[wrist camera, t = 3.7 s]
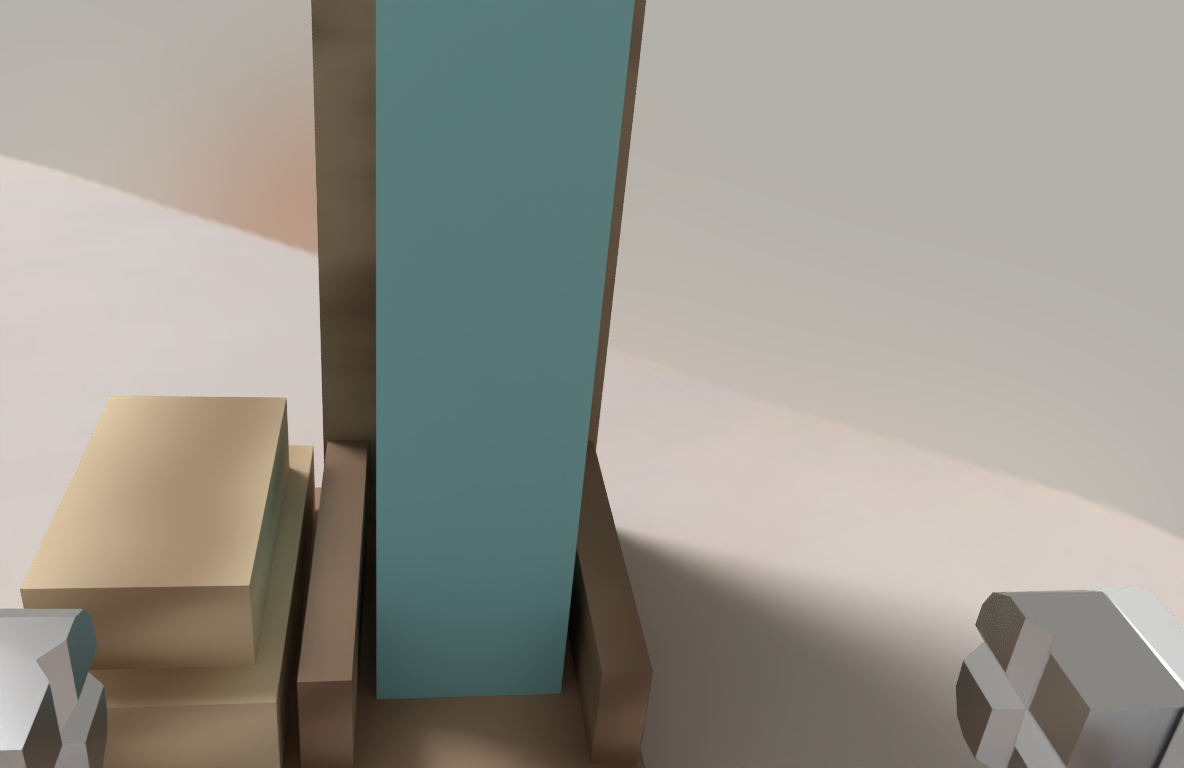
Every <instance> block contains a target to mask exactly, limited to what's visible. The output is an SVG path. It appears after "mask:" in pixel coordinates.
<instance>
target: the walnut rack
mask: <svg viewBox="0 0 1184 768" xmlns="http://www.w3.org/2000/svg"><path fill="white" fill-rule="evenodd" d="M311 5H312V40H313V41H312V42H313V78H314V112H315V149H316V186H317V222H318V258H319V294H320V330H321V366H322V403H323V439H324V472H323V480H322V488H315V516H314V523H313V531H312V539H311V546H310V554H309V562H308V569H307V577H306V585H305V592H304V600H303V608H302V615H301V623H300V631H299V638H298V646H297V654H296V661H295V669H294V677H293V684H292V692H291V700H290V707H289V715H288V723H287V730H286V738H285V745H284V753H283V761H282V768H644V764H643V759H642V755H641V750H640V748H641V741H642V735H643V729H644V722H645V716H646V710H647V703H648V697H649V691H650V685H651V678H652V672H653V671H652V668H651V664H650V660H649V656H648V652H647V648H646V644H645V640H644V636H643V633H642V629H641V625H640V621H639V617H638V613H637V609H636V605H635V602H634V598H633V594H632V590H631V586H630V582H629V578H628V574H627V570H626V567H625V563H624V559H623V555H622V551H621V547H620V543H619V539H618V536H617V532H616V528H615V524H614V520H613V516H612V512H611V508H610V505H609V501H608V497H607V493H606V489H605V485H604V481H603V477H602V473H601V470H600V466H599V462H598V458H597V454H596V445H597V436H598V427H599V418H600V409H601V400H602V391H603V382H604V373H605V364H606V355H607V346H608V337H609V328H610V319H611V310H612V301H613V291H614V283H615V274H616V265H617V256H618V247H619V238H620V229H621V220H622V211H623V203H624V194H625V193H624V192H625V185H626V176H627V166H628V158H629V149H630V139H631V131H632V122H633V113H634V104H635V95H636V86H637V77H638V68H639V59H640V50H641V41H642V32H643V23H644V14H645V5H646V0H635V3H634V12H633V21H632V31H631V40H630V49H629V59H628V68H627V78H626V87H625V96H624V106H623V115H622V124H621V134H620V143H619V152H618V162H617V171H616V180H615V190H614V199H613V209H612V218H611V227H610V237H609V246H608V255H607V265H606V274H605V283H604V293H603V302H602V311H601V321H600V330H599V340H598V349H597V358H596V368H595V377H594V386H593V396H592V405H591V414H590V424H589V433H588V442H587V452H586V461H585V471H584V480H583V489H582V499H581V508H580V517H579V527H578V536H577V545H576V555H575V564H574V573H573V583H572V592H571V602H570V611H569V620H568V630H567V639H566V648H565V658H564V667H563V676H562V686H561V693H560V694H529V695H498V696H467V697H436V698H405V699H377V675H376V0H311Z"/></svg>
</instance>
